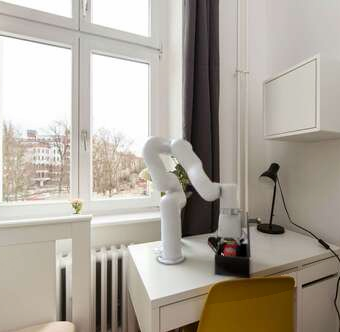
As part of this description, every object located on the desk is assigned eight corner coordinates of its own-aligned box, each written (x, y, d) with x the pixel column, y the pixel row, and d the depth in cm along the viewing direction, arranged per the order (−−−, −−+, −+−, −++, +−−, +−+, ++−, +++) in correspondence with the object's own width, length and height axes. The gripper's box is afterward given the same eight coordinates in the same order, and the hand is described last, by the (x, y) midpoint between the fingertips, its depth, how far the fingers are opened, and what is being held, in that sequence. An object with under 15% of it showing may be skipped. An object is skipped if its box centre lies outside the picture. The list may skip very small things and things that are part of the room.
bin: (215, 274, 88) (214, 255, 89) (219, 257, 106) (219, 241, 106) (249, 278, 85) (249, 258, 85) (248, 260, 102) (248, 243, 102)
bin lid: (246, 220, 86) (261, 220, 84) (246, 211, 103) (258, 211, 101) (248, 257, 85) (263, 258, 84) (247, 242, 102) (260, 243, 101)
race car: (235, 260, 88) (235, 250, 88) (222, 259, 90) (222, 249, 90) (238, 248, 101) (238, 240, 101) (226, 247, 103) (226, 239, 103)
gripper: (249, 210, 97) (250, 251, 97) (211, 209, 102) (212, 248, 101) (250, 214, 90) (251, 258, 90) (209, 212, 94) (209, 254, 94)
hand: (230, 252), depth 96 cm, fingers closed on race car, 5 cm apart
